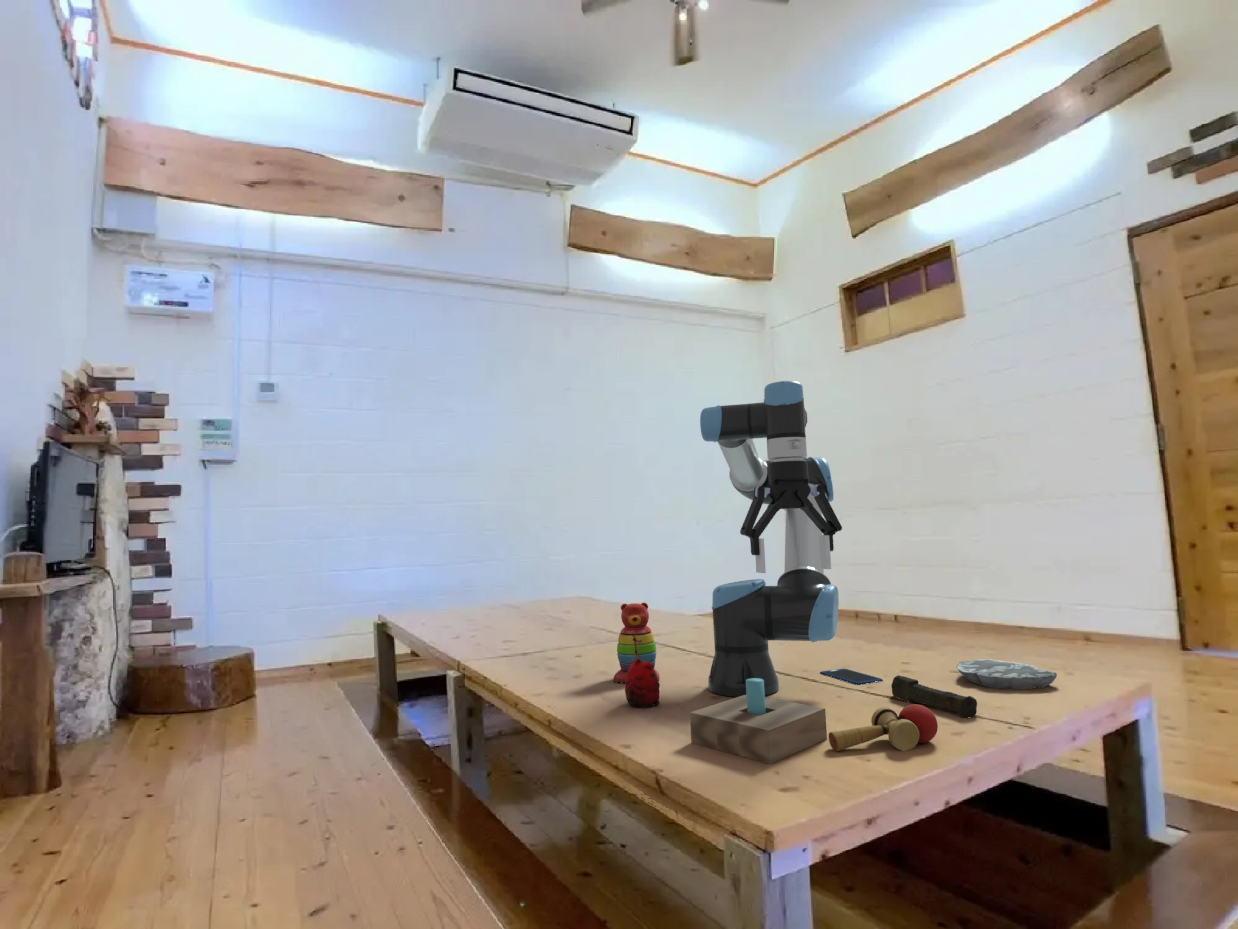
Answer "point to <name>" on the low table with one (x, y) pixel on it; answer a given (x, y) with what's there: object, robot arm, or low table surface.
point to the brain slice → (1005, 674)
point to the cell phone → (851, 676)
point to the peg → (755, 696)
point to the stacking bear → (634, 623)
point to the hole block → (758, 728)
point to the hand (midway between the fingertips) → (793, 571)
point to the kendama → (891, 729)
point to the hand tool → (933, 697)
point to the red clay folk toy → (641, 682)
